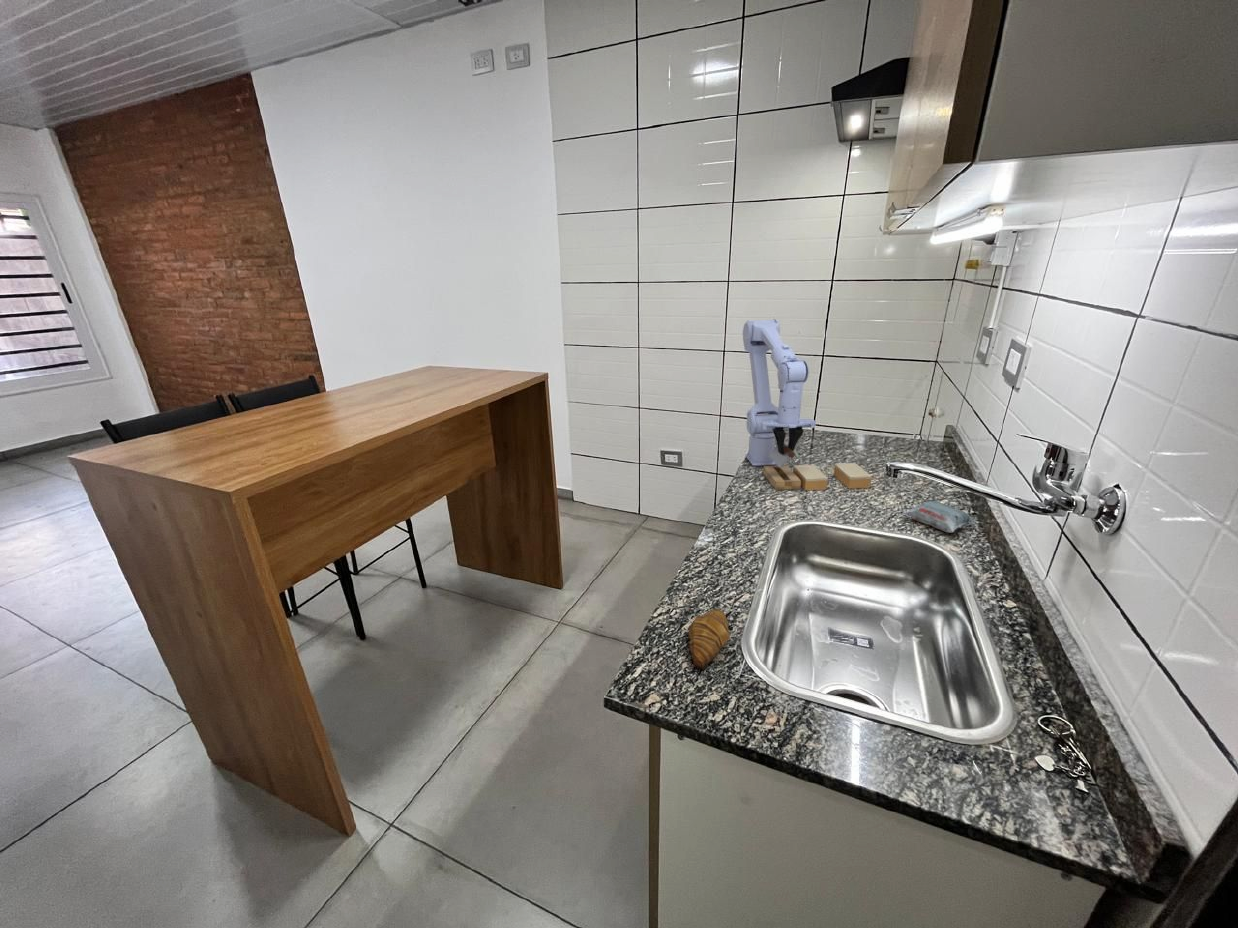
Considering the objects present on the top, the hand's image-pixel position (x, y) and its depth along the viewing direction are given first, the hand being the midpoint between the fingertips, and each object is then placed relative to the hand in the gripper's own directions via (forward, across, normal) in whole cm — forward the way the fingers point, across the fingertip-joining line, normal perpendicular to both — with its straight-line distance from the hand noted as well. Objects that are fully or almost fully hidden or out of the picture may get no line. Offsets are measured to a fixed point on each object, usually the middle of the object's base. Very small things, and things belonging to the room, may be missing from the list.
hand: (785, 452), depth 137 cm
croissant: (+9, -33, -64) cm, 73 cm away
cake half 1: (+9, +7, -2) cm, 11 cm away
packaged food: (+9, +26, -29) cm, 40 cm away
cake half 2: (+9, +19, -2) cm, 21 cm away
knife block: (+9, 0, 0) cm, 9 cm away
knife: (+3, -3, 0) cm, 4 cm away
